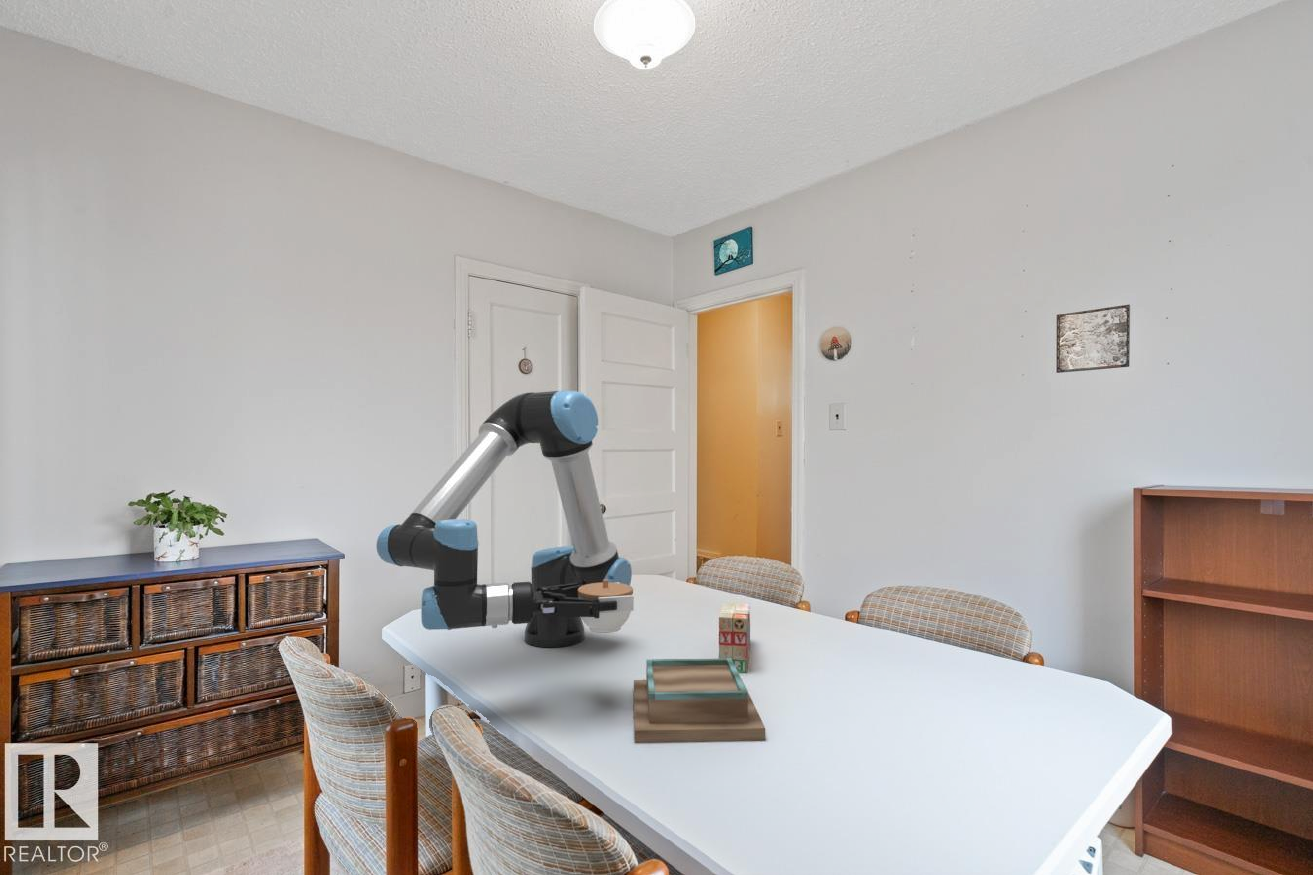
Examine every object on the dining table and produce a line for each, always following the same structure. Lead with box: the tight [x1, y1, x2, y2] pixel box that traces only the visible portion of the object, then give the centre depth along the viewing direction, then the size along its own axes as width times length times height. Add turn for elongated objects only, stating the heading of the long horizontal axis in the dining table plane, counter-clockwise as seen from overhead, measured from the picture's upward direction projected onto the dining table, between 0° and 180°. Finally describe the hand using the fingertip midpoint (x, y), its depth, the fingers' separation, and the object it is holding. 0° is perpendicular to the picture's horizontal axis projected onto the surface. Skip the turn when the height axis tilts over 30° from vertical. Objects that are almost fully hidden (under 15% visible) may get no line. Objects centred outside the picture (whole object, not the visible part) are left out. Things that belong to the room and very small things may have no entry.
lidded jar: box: [578, 579, 634, 634], centre depth 119 cm, size 11×11×9 cm
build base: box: [633, 658, 766, 744], centre depth 114 cm, size 22×22×7 cm
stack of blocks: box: [718, 602, 751, 674], centre depth 145 cm, size 21×6×12 cm, turn 169°
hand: (626, 595), depth 120 cm, fingers closed on lidded jar, 11 cm apart
